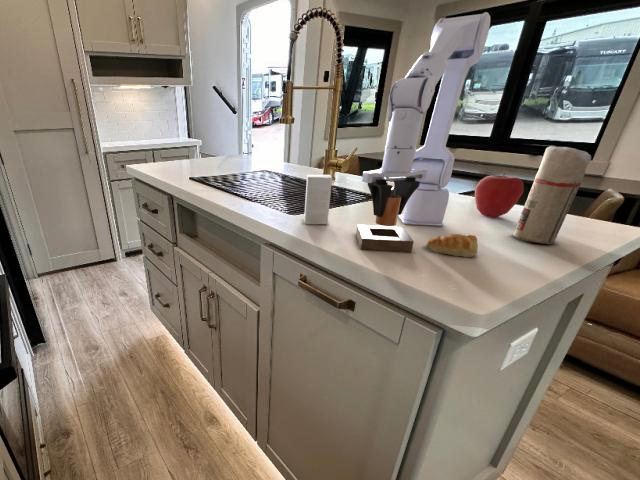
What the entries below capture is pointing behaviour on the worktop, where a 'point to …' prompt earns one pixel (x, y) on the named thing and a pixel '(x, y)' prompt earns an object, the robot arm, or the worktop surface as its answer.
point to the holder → (384, 238)
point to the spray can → (552, 194)
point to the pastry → (454, 245)
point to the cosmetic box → (317, 199)
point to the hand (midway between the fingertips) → (387, 214)
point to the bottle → (390, 209)
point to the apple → (497, 194)
